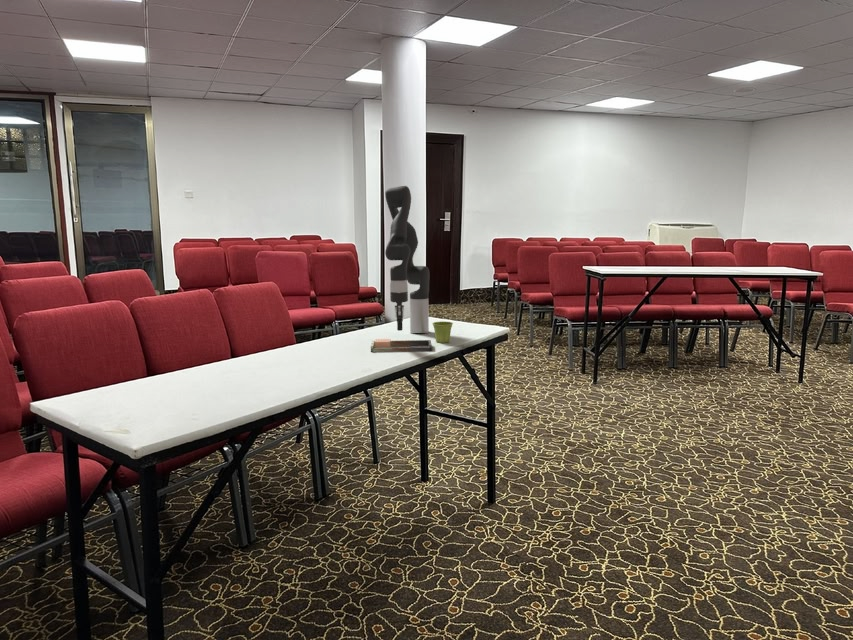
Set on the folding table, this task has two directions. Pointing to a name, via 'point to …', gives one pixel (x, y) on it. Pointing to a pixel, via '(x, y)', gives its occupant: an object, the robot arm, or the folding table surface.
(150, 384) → the folding table surface
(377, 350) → the trap track
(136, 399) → the folding table surface
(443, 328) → the plant pot
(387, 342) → the block
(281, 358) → the folding table surface
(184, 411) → the folding table surface
